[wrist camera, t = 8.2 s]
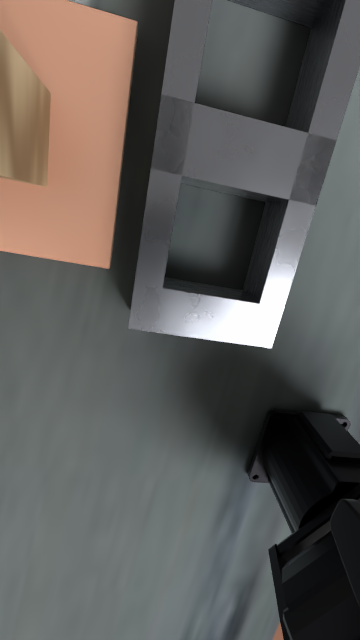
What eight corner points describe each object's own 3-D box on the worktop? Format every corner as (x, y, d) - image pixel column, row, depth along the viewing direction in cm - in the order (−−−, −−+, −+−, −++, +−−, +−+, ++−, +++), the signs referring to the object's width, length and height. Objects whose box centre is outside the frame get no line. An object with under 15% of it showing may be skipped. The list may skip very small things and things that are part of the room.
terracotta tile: (110, 266, 17) (109, 268, 16) (-104, 230, 15) (-117, 231, 15) (137, 31, 14) (137, 21, 13) (-134, -48, 12) (-153, -66, 11)
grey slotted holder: (253, 329, 19) (271, 348, 17) (131, 310, 18) (128, 328, 15) (355, -28, 14) (407, -89, 11) (188, -90, 13) (199, -176, 10)
